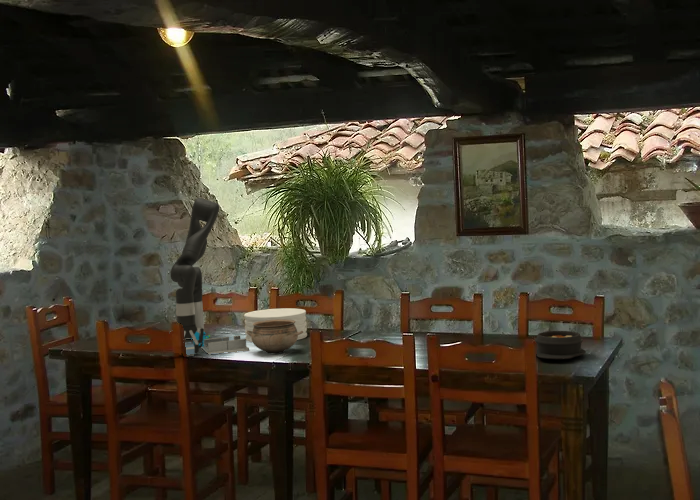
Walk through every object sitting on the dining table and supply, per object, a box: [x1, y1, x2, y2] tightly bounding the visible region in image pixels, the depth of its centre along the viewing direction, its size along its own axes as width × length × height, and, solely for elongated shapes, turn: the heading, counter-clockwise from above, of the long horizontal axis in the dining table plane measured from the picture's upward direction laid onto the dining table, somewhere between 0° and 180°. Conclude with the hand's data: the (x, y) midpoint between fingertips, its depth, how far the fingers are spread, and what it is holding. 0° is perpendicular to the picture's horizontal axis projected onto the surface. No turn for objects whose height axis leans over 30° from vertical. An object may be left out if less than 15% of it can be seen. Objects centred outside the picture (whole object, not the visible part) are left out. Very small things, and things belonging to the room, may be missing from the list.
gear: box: [190, 331, 211, 347], centre depth 340 cm, size 11×6×10 cm
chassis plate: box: [200, 335, 250, 355], centre depth 325 cm, size 16×17×5 cm
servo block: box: [184, 341, 195, 355], centre depth 318 cm, size 11×4×5 cm, turn 21°
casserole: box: [534, 330, 587, 361], centre depth 280 cm, size 25×19×8 cm
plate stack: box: [243, 307, 308, 343], centre depth 352 cm, size 28×28×12 cm
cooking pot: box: [246, 319, 303, 355], centre depth 315 cm, size 25×19×12 cm
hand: (188, 354), depth 317 cm, fingers open, 5 cm apart
